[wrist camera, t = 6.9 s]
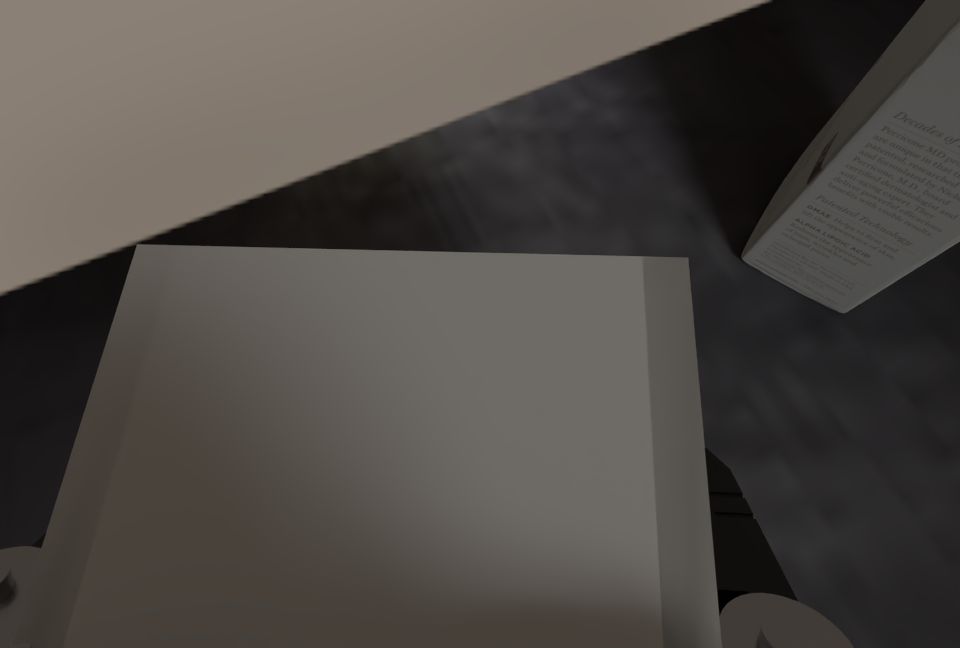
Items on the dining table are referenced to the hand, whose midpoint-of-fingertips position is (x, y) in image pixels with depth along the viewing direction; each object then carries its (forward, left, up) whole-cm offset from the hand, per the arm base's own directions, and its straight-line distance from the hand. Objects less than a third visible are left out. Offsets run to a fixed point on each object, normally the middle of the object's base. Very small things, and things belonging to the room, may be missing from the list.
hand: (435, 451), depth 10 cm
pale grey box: (0, +2, -5) cm, 5 cm away
